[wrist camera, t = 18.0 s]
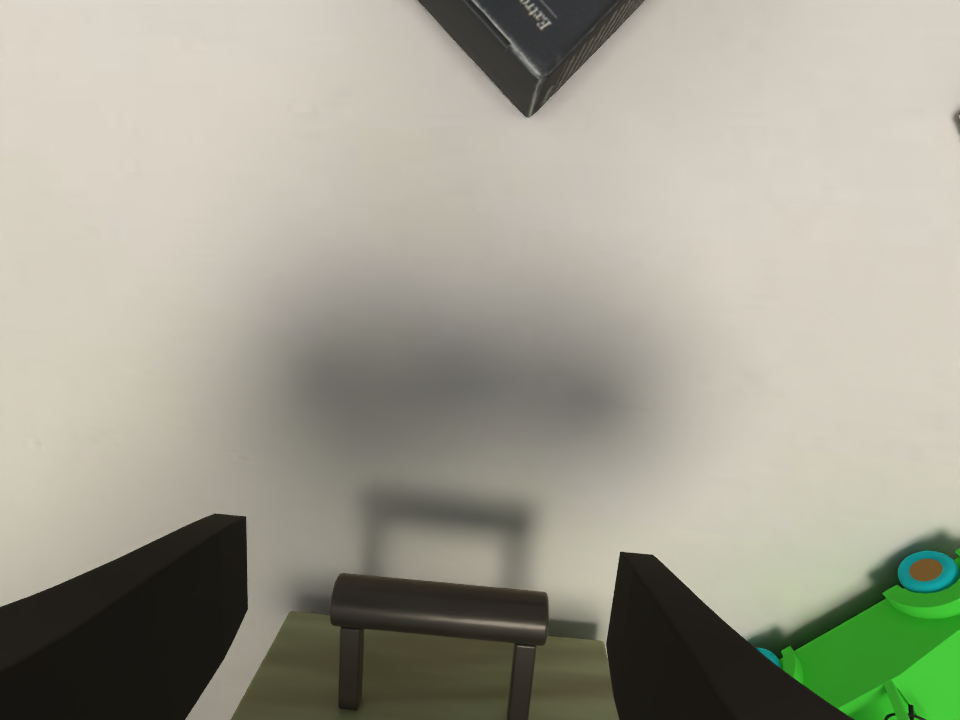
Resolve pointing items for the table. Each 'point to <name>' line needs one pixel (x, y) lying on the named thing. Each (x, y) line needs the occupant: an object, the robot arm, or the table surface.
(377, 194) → the table surface
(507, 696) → the drawer
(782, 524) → the table surface
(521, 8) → the box
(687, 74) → the table surface
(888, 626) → the toy car
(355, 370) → the table surface
